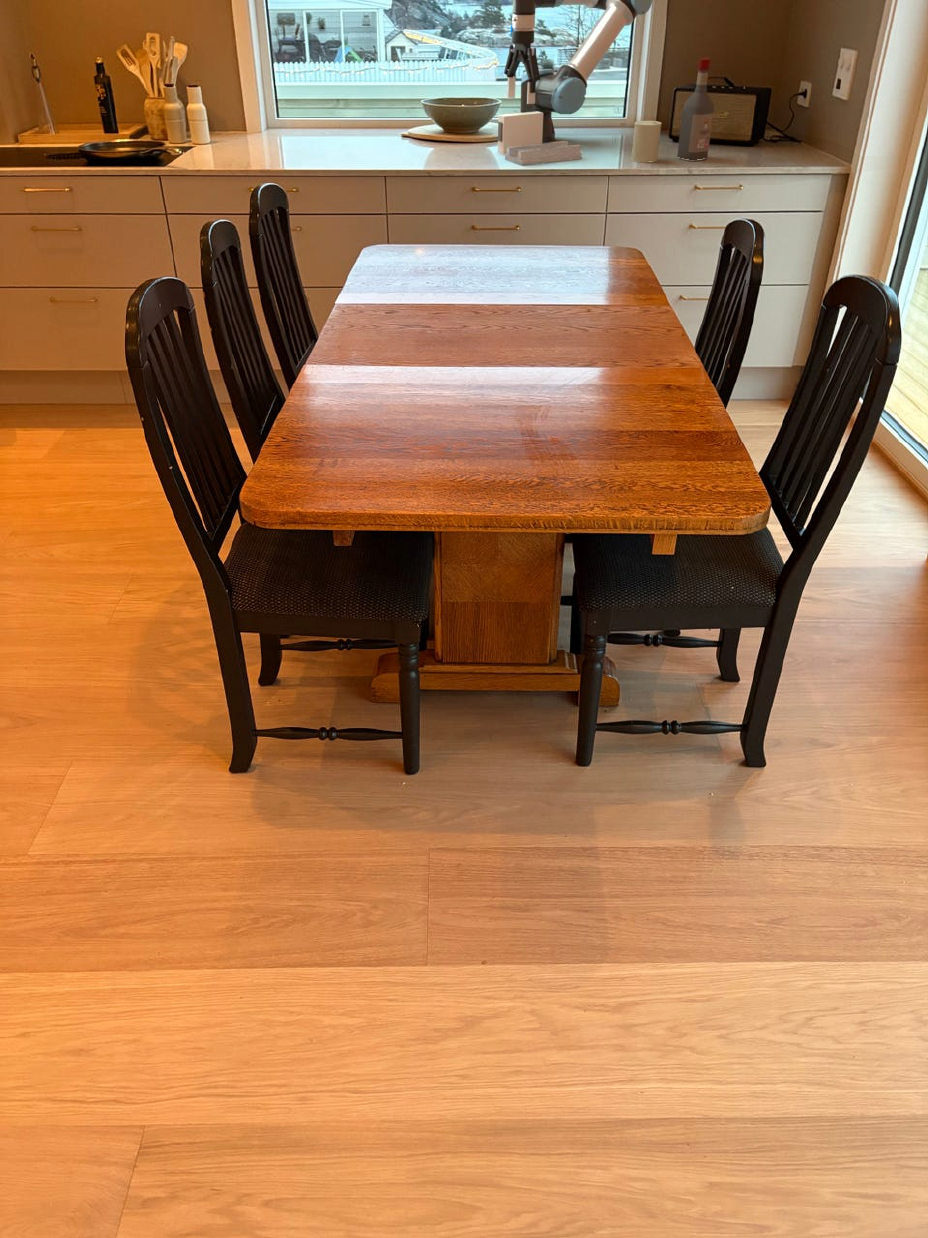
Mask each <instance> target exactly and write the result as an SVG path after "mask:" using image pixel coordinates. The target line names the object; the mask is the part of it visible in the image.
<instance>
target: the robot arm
mask: <svg viewBox="0 0 928 1238" xmlns="http://www.w3.org/2000/svg"><path fill="white" fill-rule="evenodd" d="M653 1H654V0H508V2H509V3H510V4H512V19H511V21H512V29H513V30H512V32H511V42H512V43H513V44H509V51H508V55H507V59H506V63H505V67H504V72H503V73H504V75H506V77H507V91H506V92H507V93H506V94H507V95H506V96H507V99H508V100H509V99H511V100H512V99H515V98H516V77H517V76H516V73H517V70H518V68H519V66H520V64H521V63H522V64H523V65H524V68H525V71H523V72H522V75H521V82H520V113H525V112H536V111H538V112H542V113H543V133H542V143H549V142H555V140H556V131H555V127H554V122H553V118H552V114H553V113H554V114H555V113H556V114H559V115H573V114H576V113H577V112H578V111H579V110H580V109H581V108H582V107H583V104H584V103H585V102H586V95H587V87H588V80H589V77H590V76H591V74H592V73H593V72H594V71H595V69H596V68H597V66H598V65H599V63H600V61H602V59H603V57H604V56H605V55H606V54H607V52H608V50H609V49H610V47H611V46H612V44H614V42H615V40H616V39H617V37H618V36H619V35H620V32H621V31H622V30H623V29H624V27H625V26H626V27H627V26H631V25H632V23H633V22H634V21H635V19H636V18H637V17H638V15H640V16H642V15H644V14H646V13H648V12H649V10H650V9H651V7H652V6H653V5H652V4H653ZM583 5H584V7H585V8H588V9H598V10H603V11H604V12H603V13H602V15H601V16H600V17H599V18H598V20H597V22H596V23H595V25H594V26H593V28H592V29H591V31H590V32H589V33H588V34H587V36H586V37H585V39H584V40H583V42H582V43H581V45H580V46H579V48H578V49H577V51H576V52H575V53H574V55H573V56H572V57H571V59H570V61H569V62H568V63H563V64H562V65H561V66H560V68H559V69H558V70H557V71H556V73H554V72H555V71H554V69H553V68H549V69H548V68H547V69H539V64H538V59H537V58H538V57H537V48H536V47H531V45H532V44H534V42H535V30H534V29H535V28H536V26H535V25H536V10H537V9H538V8H539V9H540V8H542V9H543V8H545V9H546V8H550V9H551V8H552V9H554V8H559V7H560V6H583Z"/></svg>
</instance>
